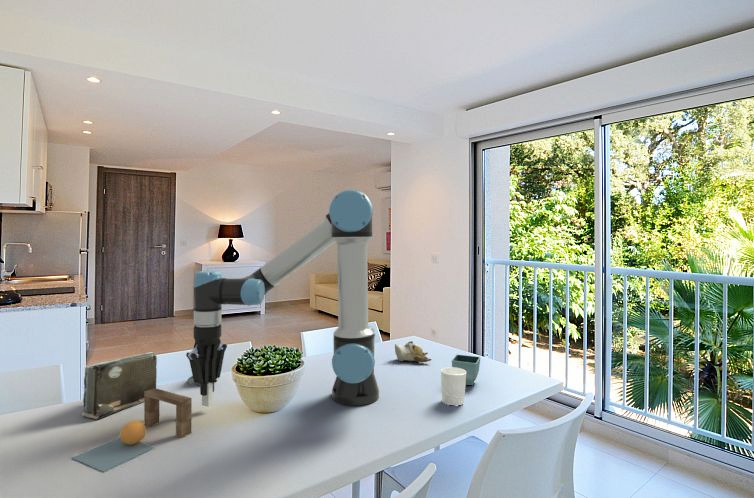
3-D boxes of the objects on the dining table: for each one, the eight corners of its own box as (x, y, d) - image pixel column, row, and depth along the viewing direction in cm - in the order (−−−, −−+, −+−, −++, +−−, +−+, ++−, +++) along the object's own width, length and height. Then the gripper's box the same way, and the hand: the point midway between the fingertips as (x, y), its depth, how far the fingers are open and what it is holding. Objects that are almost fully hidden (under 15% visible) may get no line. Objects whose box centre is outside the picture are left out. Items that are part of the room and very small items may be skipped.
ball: (136, 421, 102) (124, 445, 100) (154, 425, 106) (143, 449, 104) (122, 416, 105) (111, 439, 102) (141, 420, 109) (130, 443, 106)
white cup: (468, 400, 136) (468, 369, 136) (462, 409, 129) (463, 376, 128) (444, 395, 139) (444, 365, 139) (437, 404, 132) (437, 372, 132)
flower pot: (450, 385, 149) (451, 360, 149) (455, 378, 157) (456, 353, 157) (476, 389, 146) (476, 363, 145) (480, 381, 154) (480, 356, 154)
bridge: (154, 421, 117) (154, 388, 116) (191, 433, 110) (191, 398, 110) (144, 425, 114) (144, 391, 114) (181, 437, 108) (181, 401, 107)
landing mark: (154, 447, 102) (154, 447, 102) (103, 472, 92) (103, 471, 92) (123, 436, 108) (123, 435, 108) (71, 458, 97) (71, 457, 97)
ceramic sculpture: (394, 337, 182) (428, 339, 183) (392, 357, 182) (426, 359, 183) (396, 343, 172) (432, 346, 172) (394, 364, 172) (431, 367, 173)
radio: (150, 389, 140) (150, 344, 140) (169, 394, 137) (169, 348, 136) (75, 416, 119) (75, 363, 119) (94, 422, 116) (94, 368, 115)
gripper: (216, 319, 130) (215, 395, 131) (179, 327, 119) (179, 410, 120) (234, 321, 127) (233, 399, 128) (198, 330, 115) (197, 416, 116)
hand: (207, 404), depth 124 cm, fingers closed
